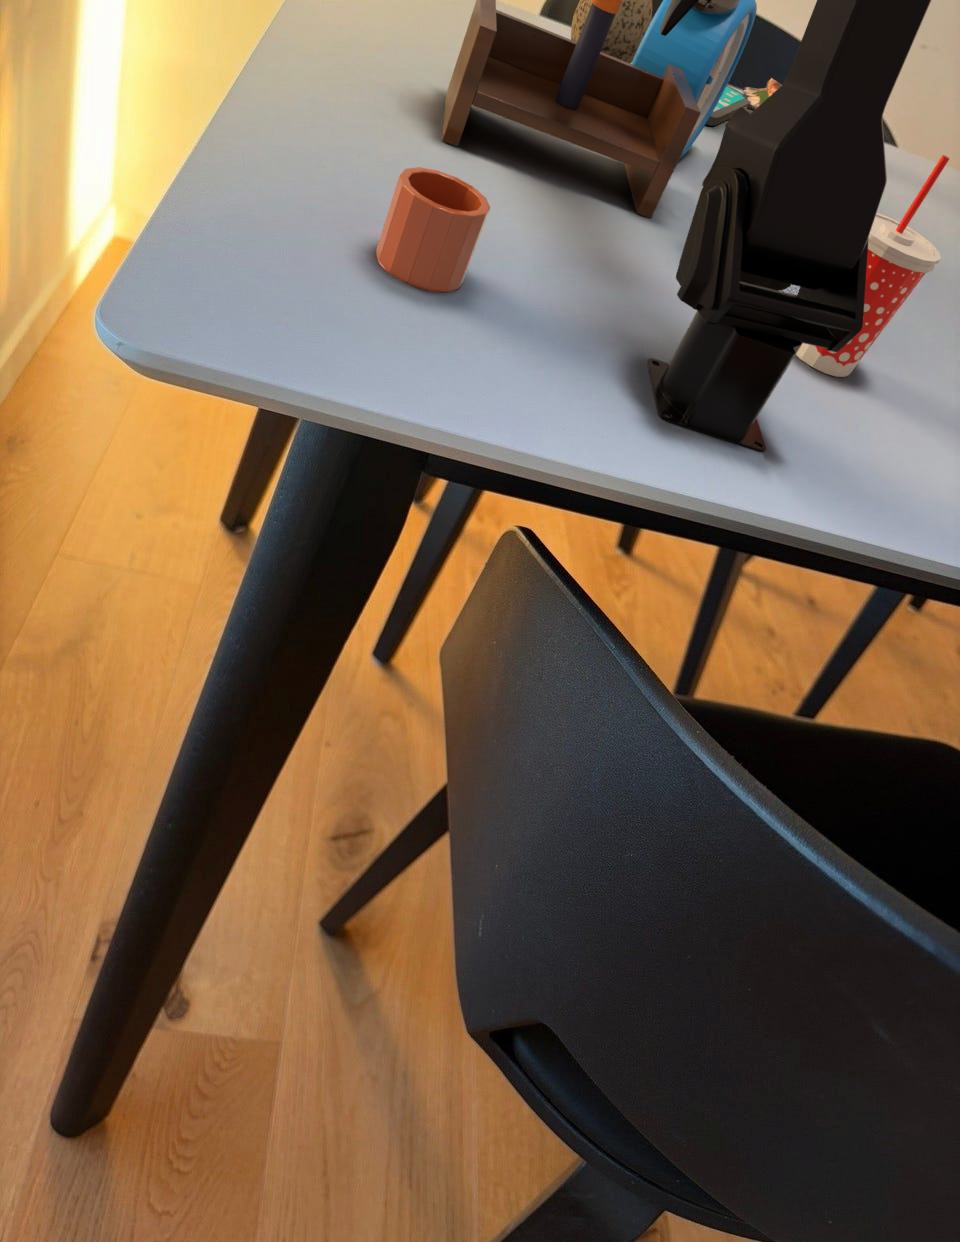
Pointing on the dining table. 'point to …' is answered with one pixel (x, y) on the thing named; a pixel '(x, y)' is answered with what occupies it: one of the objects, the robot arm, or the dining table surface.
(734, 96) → the smartphone
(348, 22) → the dining table surface
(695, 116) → the shelf
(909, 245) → the beverage cup
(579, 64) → the marker
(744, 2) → the alarm clock
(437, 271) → the pen cup
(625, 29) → the decorative egg
